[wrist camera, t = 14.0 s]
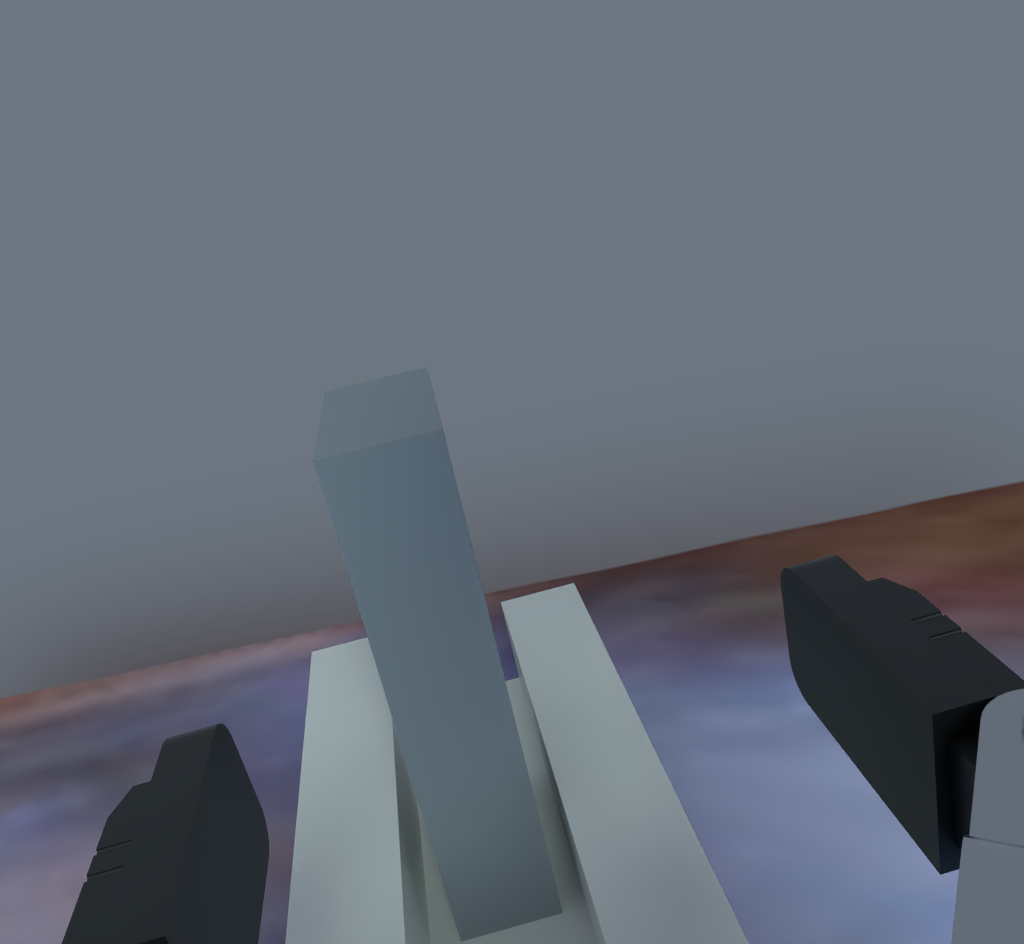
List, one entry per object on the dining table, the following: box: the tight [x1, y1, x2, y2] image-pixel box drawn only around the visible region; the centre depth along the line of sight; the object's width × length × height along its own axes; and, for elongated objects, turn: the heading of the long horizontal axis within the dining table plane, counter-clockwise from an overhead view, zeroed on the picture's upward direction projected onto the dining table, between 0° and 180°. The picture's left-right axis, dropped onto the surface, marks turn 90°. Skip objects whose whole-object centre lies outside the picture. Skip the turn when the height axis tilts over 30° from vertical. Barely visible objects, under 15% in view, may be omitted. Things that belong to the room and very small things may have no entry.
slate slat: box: [313, 367, 563, 942], centre depth 26 cm, size 3×6×15 cm, turn 9°
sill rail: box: [285, 583, 749, 944], centre depth 28 cm, size 11×18×5 cm, turn 9°
